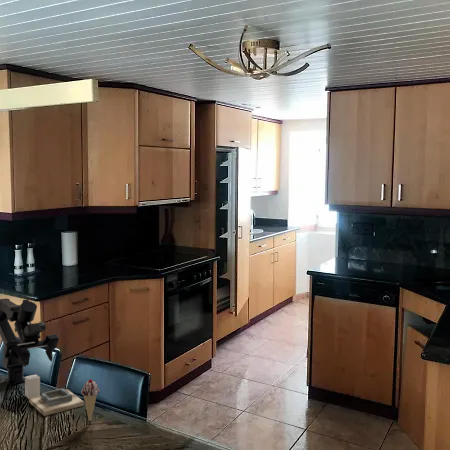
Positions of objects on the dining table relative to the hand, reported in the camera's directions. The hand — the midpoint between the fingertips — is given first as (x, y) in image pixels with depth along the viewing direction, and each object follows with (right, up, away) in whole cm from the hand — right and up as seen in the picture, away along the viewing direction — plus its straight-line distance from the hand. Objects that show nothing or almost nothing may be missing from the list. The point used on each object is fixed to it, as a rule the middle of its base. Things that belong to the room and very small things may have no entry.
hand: (38, 363), depth 178 cm
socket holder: (+7, -14, -1) cm, 16 cm away
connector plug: (-4, -13, +5) cm, 15 cm away
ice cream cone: (+22, -16, -16) cm, 32 cm away
